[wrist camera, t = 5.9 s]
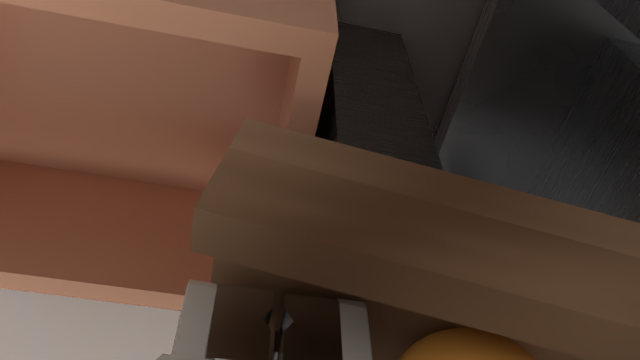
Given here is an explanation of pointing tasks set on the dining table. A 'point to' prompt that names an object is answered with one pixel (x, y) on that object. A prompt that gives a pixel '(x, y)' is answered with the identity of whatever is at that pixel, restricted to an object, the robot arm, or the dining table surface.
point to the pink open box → (137, 130)
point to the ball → (465, 346)
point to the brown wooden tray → (418, 248)
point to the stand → (509, 102)
